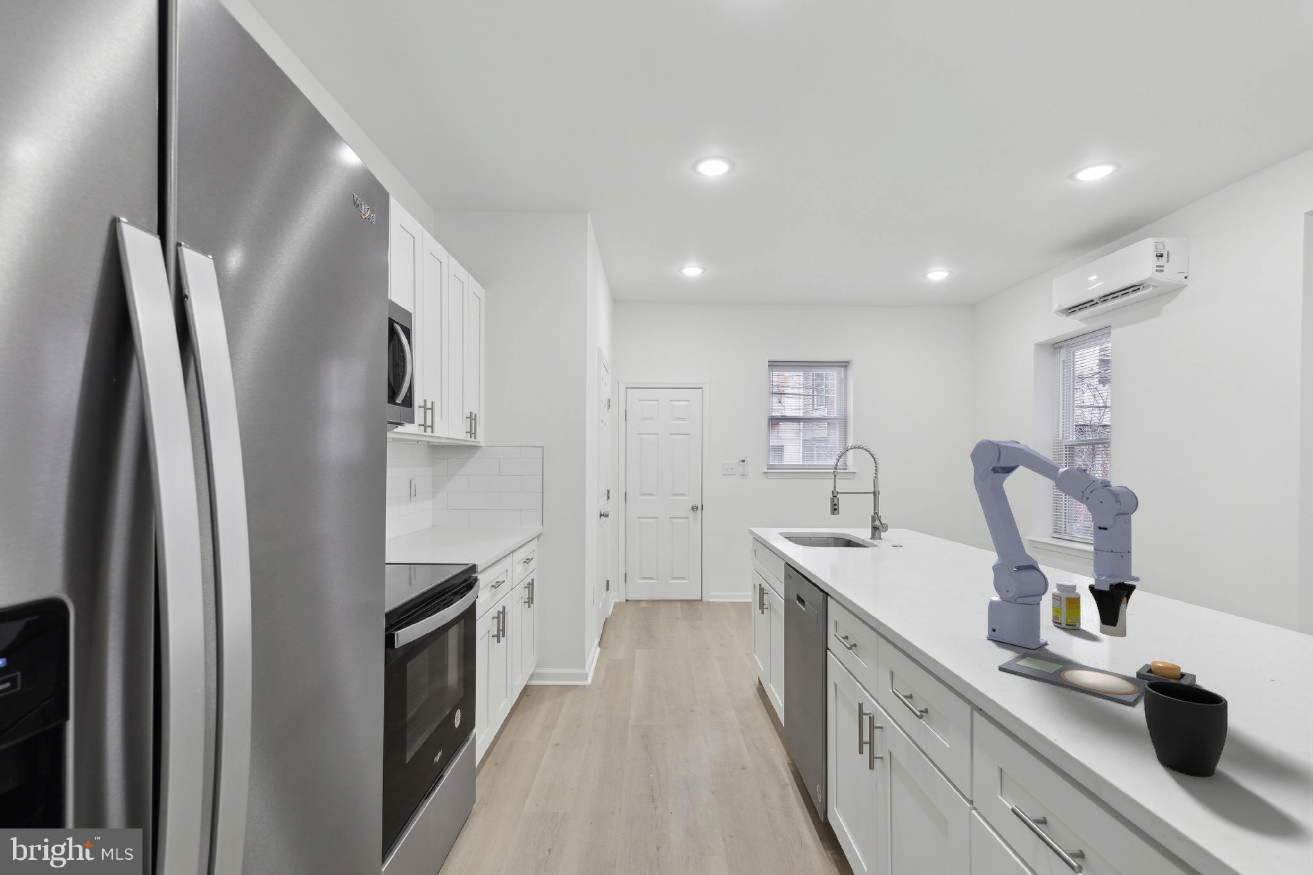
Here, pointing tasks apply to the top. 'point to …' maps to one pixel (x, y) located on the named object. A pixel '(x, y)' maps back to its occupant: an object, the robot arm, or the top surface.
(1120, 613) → the white and brown cylinder
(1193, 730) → the black oval cup
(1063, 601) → the supplement bottle
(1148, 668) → the button housing
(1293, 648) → the top surface
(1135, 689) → the picture board
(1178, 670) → the button
